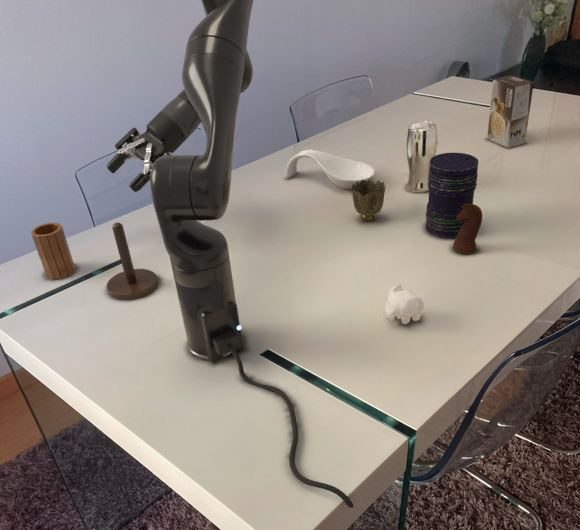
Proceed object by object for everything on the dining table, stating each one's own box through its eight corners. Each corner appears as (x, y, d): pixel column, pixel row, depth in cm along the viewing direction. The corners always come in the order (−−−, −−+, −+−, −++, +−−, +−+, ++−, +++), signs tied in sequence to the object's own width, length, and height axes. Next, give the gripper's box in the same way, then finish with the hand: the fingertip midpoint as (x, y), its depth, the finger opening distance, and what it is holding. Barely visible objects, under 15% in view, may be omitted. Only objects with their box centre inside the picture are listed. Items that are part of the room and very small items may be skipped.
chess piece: (453, 243, 133) (457, 198, 127) (478, 244, 132) (484, 199, 126) (451, 254, 130) (456, 208, 124) (477, 255, 128) (483, 209, 122)
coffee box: (526, 143, 174) (535, 81, 164) (507, 148, 172) (516, 86, 162) (503, 134, 181) (511, 74, 171) (485, 138, 179) (492, 78, 169)
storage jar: (437, 242, 134) (442, 174, 125) (417, 223, 141) (420, 157, 132) (480, 233, 135) (488, 165, 126) (458, 214, 143) (464, 149, 134)
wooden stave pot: (78, 272, 135) (65, 229, 129) (51, 282, 132) (35, 239, 126) (70, 261, 139) (56, 219, 133) (42, 271, 137) (27, 228, 130)
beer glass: (433, 193, 153) (437, 131, 144) (404, 193, 154) (406, 131, 145) (434, 181, 158) (438, 120, 149) (405, 181, 160) (408, 121, 150)
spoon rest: (381, 178, 162) (382, 151, 158) (363, 197, 154) (363, 168, 150) (299, 167, 172) (297, 141, 168) (278, 184, 164) (275, 157, 160)
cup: (346, 223, 144) (345, 190, 139) (359, 209, 149) (359, 177, 144) (377, 228, 141) (378, 194, 136) (389, 214, 146) (390, 181, 141)
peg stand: (166, 288, 127) (151, 224, 119) (118, 305, 123) (100, 240, 115) (146, 268, 134) (131, 206, 126) (100, 284, 130) (82, 222, 122)
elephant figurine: (375, 315, 114) (376, 287, 111) (415, 304, 116) (416, 276, 113) (393, 335, 109) (394, 306, 106) (434, 323, 111) (437, 294, 107)
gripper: (146, 98, 134) (92, 153, 132) (186, 126, 127) (130, 184, 126) (163, 122, 140) (111, 175, 139) (202, 150, 134) (149, 206, 132)
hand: (120, 179), depth 132 cm, fingers open, 8 cm apart
